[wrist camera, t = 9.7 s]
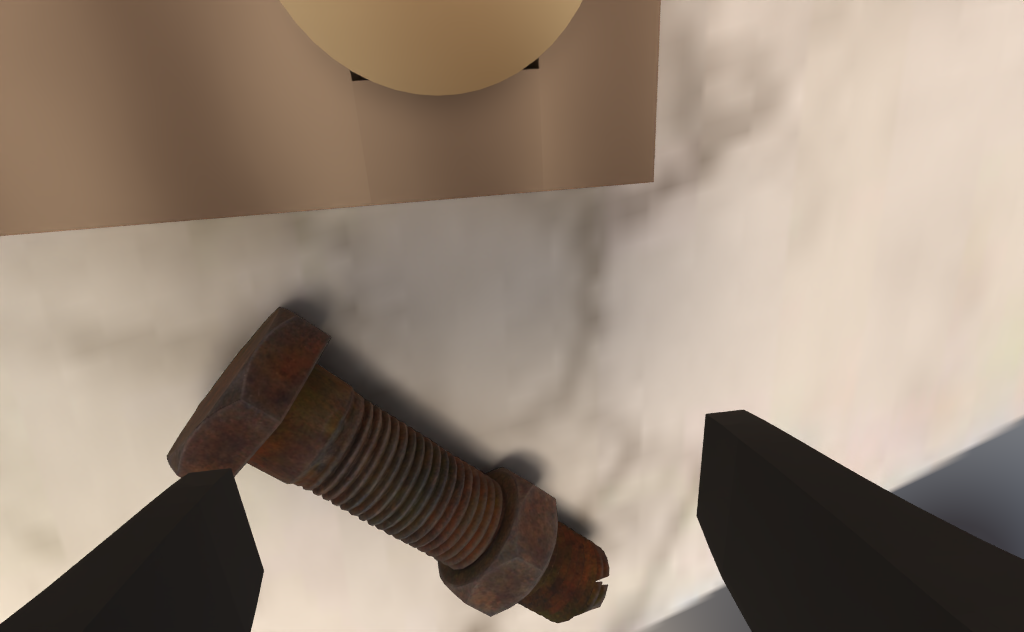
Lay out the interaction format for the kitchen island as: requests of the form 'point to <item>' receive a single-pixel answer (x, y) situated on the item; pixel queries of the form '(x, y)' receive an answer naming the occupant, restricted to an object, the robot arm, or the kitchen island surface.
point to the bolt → (389, 477)
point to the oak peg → (433, 38)
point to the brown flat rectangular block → (293, 116)
